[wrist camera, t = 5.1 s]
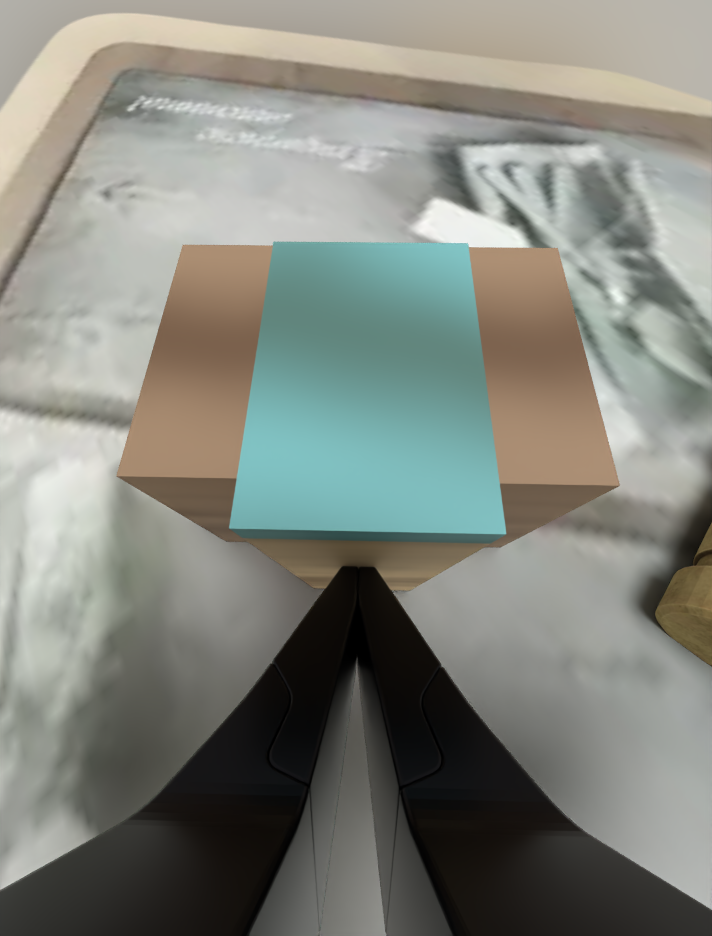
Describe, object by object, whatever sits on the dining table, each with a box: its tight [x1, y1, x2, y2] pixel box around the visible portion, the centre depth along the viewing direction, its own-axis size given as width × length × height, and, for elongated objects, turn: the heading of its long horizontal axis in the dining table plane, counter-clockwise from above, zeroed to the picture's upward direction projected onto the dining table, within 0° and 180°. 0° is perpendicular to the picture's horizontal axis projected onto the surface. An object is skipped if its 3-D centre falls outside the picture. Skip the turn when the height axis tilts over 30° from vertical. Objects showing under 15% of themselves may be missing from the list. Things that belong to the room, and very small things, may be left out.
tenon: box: [229, 242, 506, 591], centre depth 12 cm, size 6×4×11 cm, turn 179°
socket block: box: [117, 245, 620, 547], centre depth 14 cm, size 8×12×8 cm, turn 88°
